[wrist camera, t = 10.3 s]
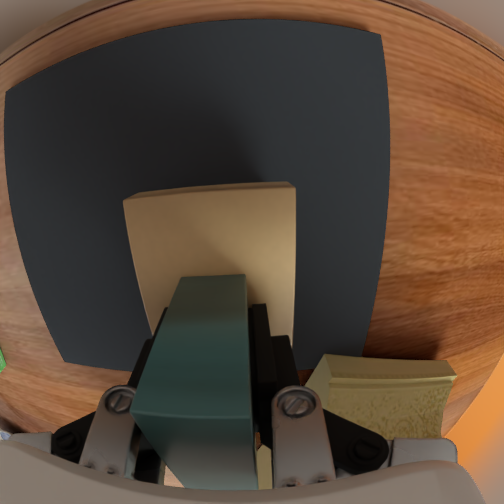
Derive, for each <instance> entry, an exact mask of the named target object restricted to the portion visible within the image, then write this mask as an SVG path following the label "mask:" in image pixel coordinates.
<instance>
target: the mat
mask: <svg viewBox="0 0 504 504" xmlns="http://www.w3.org/2000/svg"><path fill="white" fill-rule="evenodd" d="M4 150H5V166H6V177H7V185H8V193H9V200H10V206H11V212H12V217H13V222H14V227H15V231H16V236H17V240H18V244H19V248H20V252H21V255H22V259H23V262H24V266H25V269H26V272H27V275H28V278H29V281H30V284H31V287H32V290H33V293H34V295H35V298H36V301H37V303H38V306H39V308H40V311H41V313H42V316H43V318H44V320H45V323H46V325H47V327H48V329H49V332H50V334H51V336H52V338H53V340H54V342H55V344H56V346H57V348H58V350H59V352H60V354H61V356H62V358H63V360H64V361H65V362H68V363H73V364H79V365H85V366H91V367H98V368H105V369H113V370H122V371H132V372H133V369H134V367H135V364H136V362H137V359H138V357H139V354H140V352H141V350H142V347H143V345H144V343H145V341H146V339H152V337H153V335H152V332H151V328H150V325H149V322H148V318H147V315H146V311H145V307H144V304H143V300H142V296H141V292H140V288H139V284H138V280H137V275H136V271H135V266H134V262H133V257H132V252H131V247H130V242H129V237H128V231H127V225H126V219H125V213H124V206H123V200H125V199H127V198H129V197H131V196H133V195H135V194H137V193H140V192H148V191H156V190H165V189H175V188H185V187H196V186H208V185H222V184H237V183H257V182H286V181H287V182H289V183H290V184H291V185H293V186H294V187H295V188H296V265H295V300H294V324H293V343H292V351H293V356H294V360H295V364H296V369H297V370H306V369H315V368H316V367H317V365H318V364H319V362H320V360H321V359H322V357H323V355H324V354H331V355H341V356H352V357H361V356H362V352H363V348H364V345H365V341H366V337H367V333H368V328H369V324H370V320H371V315H372V311H373V306H374V301H375V296H376V291H377V285H378V280H379V274H380V268H381V261H382V254H383V247H384V239H385V230H386V220H387V209H388V196H389V177H390V118H389V100H388V87H387V76H386V67H385V60H384V52H383V46H382V40H381V35H380V34H377V33H372V32H368V31H364V30H359V29H355V28H350V27H344V26H338V25H332V24H325V23H318V22H309V21H298V20H282V19H235V20H219V21H208V22H200V23H192V24H185V25H179V26H173V27H167V28H162V29H158V30H153V31H149V32H144V33H140V34H136V35H133V36H129V37H125V38H122V39H119V40H115V41H112V42H109V43H106V44H103V45H100V46H98V47H95V48H92V49H89V50H87V51H84V52H82V53H79V54H77V55H74V56H72V57H70V58H67V59H65V60H63V61H61V62H59V63H56V64H54V65H52V66H50V67H48V68H46V69H44V70H42V71H40V72H38V73H37V74H35V75H33V76H31V77H29V78H28V79H26V80H24V81H22V82H21V83H19V84H17V85H16V86H14V87H12V88H11V89H9V90H8V91H6V95H5V110H4Z"/></svg>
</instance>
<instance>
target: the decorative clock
mask: <svg viewBox="0 0 504 504" xmlns="http://www.w3.org/2000/svg"><path fill="white" fill-rule="evenodd" d="M456 376H457V375H456V373H455V372H454V370H453V369H452V367H451V366H450V365H449V363H448V362H447V360H397V359H378V358H364V357H352V356H341V355H331V354H324V355H323V357H322V359H321V360H320V362H319V364H318V365H317V367H316V368H315V370H314V372H313V373H312V375H311V376H310V378H309V380H308V381H307V383H306V384H305V386H304V387H308V388H310V389H312V390H314V391H315V392H316V393H317V394H318V396H319V398H320V400H321V404H322V408H324V409H326V410H328V411H330V412H332V413H334V414H336V415H338V416H340V417H342V418H344V419H347V420H349V421H351V422H353V423H355V424H358V425H360V426H362V427H364V428H367V429H369V430H371V431H374V432H376V433H378V434H380V435H381V436H383V437H384V438H385V439H390V440H393V438H394V437H401V438H442V437H441V424H442V417H443V410H444V407H445V404H446V402H447V399H448V396H449V394H450V391H451V388H452V385H453V383H452V381H453V380H454V379H455V378H456ZM257 468H258V485H259V489H258V490H264V489H272V470H271V449H269V448H268V447H266V446H264V445H262V446H261V447H260V448H259V450H258V451H257Z"/></svg>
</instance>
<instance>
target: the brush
mask: <svg viewBox="0 0 504 504" xmlns="http://www.w3.org/2000/svg"><path fill="white" fill-rule="evenodd" d="M123 206H124V213H125V219H126V225H127V231H128V237H129V242H130V247H131V252H132V257H133V262H134V266H135V271H136V275H137V280H138V284H139V288H140V292H141V296H142V300H143V304H144V307H145V311H146V315H147V318H148V322H149V325H150V328H151V332H152V335H153V334H154V332H155V329H156V327H157V325H158V322H159V320H160V317H161V315H162V313H163V310H164V308H165V307H168V309H167V311H166V314H165V316H164V318H163V321H162V323H161V326H160V328H159V331H158V333H157V336H156V338H155V341H154V344H153V346H152V349H151V351H150V354H149V357H148V359H147V362H146V365H145V367H144V370H143V373H142V376H141V378H140V381H139V384H138V387H137V390H136V392H135V395H134V398H133V401H132V404H131V407H130V414H131V415H132V417H133V419H134V420H135V422H136V423H137V425H138V426H139V428H140V429H141V431H142V432H143V434H144V435H145V437H146V438H147V440H148V441H149V443H150V444H151V445H152V447H153V448H154V450H155V451H156V452H157V454H158V455H159V456H160V458H161V459H162V460H163V462H164V463H165V464H166V465H167V467H168V468H169V469H170V470H171V472H172V473H173V474H174V475H175V476H176V478H177V479H178V480H179V481H180V482H181V484H182V485H183V486H184V487H185V488H191V489H204V490H258V489H259V485H258V468H257V451H256V433H255V425H254V412H253V399H252V386H251V367H250V345H249V322H248V308H252V304H262V303H266V307H267V313H268V320H269V326H270V333H271V336H278V335H288V336H289V339H290V343H291V347H292V343H293V324H294V300H295V265H296V188H295V187H294V186H293V185H291V184H290V183H289V182H287V181H286V182H257V183H237V184H222V185H208V186H196V187H185V188H175V189H165V190H156V191H148V192H140V193H137V194H135V195H133V196H131V197H129V198H127V199H125V200H123Z"/></svg>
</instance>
